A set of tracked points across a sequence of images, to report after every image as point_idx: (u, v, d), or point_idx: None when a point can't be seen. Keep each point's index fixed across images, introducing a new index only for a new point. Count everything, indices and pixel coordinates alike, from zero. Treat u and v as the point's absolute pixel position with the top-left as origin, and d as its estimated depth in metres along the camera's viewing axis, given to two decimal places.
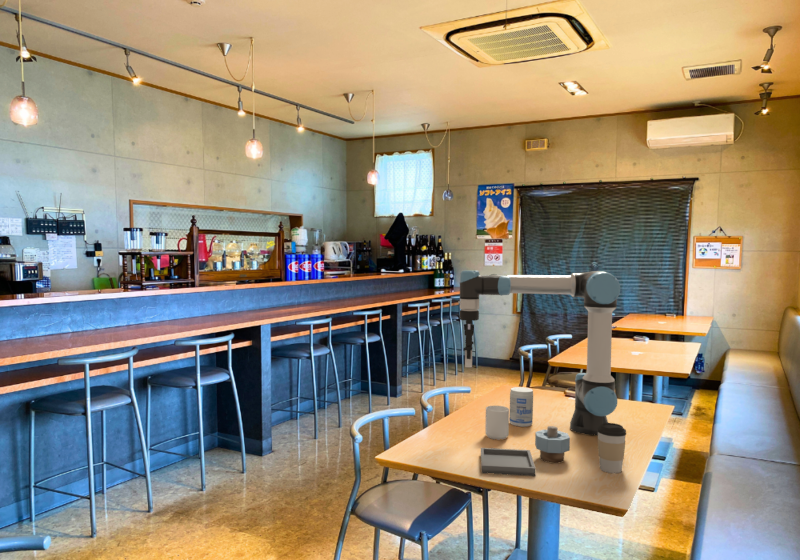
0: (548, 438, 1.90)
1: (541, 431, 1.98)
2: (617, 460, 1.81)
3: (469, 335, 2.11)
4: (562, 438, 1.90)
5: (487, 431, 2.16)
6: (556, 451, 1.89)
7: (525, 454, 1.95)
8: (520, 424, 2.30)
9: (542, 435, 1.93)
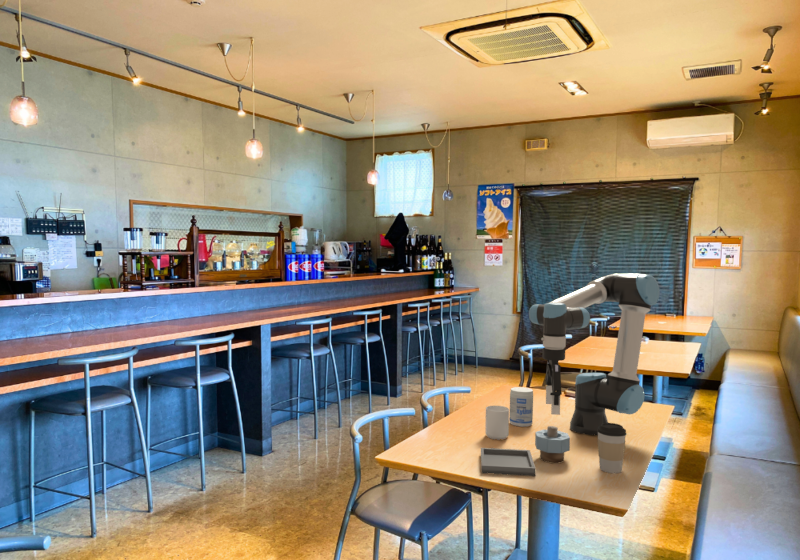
0: (548, 438, 1.90)
1: (541, 431, 1.98)
2: (617, 460, 1.81)
3: (557, 378, 1.85)
4: (562, 438, 1.90)
5: (487, 431, 2.16)
6: (556, 451, 1.89)
7: (525, 454, 1.95)
8: (520, 424, 2.30)
9: (542, 435, 1.93)
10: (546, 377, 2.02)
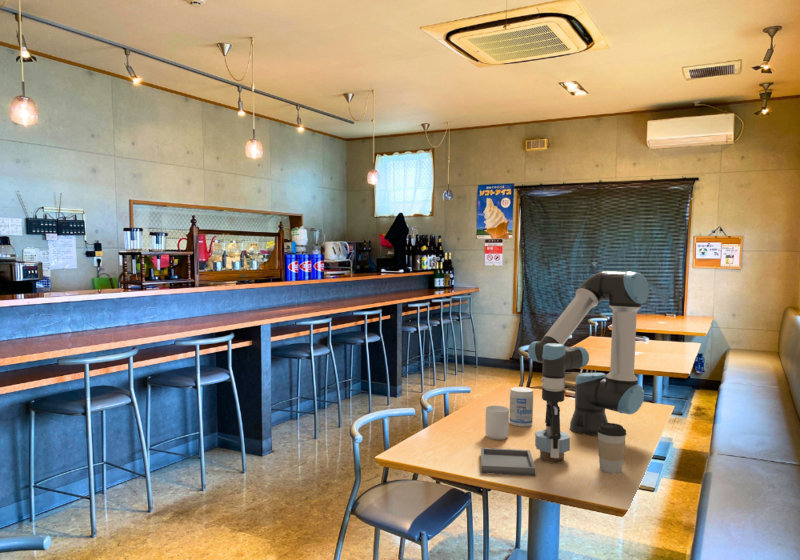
0: (548, 438, 1.90)
1: (541, 431, 1.98)
2: (617, 460, 1.81)
3: (556, 422, 1.86)
4: (562, 438, 1.90)
5: (487, 431, 2.16)
6: None
7: (525, 454, 1.95)
8: (520, 424, 2.30)
9: (542, 435, 1.93)
10: (546, 418, 2.01)
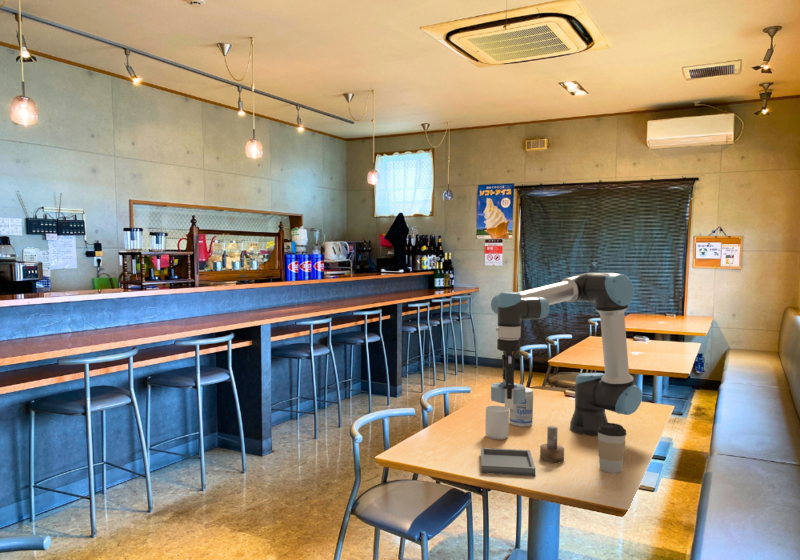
0: (502, 388, 1.83)
1: (497, 383, 1.91)
2: (617, 460, 1.81)
3: (510, 371, 1.80)
4: (517, 388, 1.83)
5: (487, 431, 2.16)
6: None
7: (525, 454, 1.95)
8: (520, 424, 2.30)
9: (497, 386, 1.86)
10: (503, 371, 1.95)
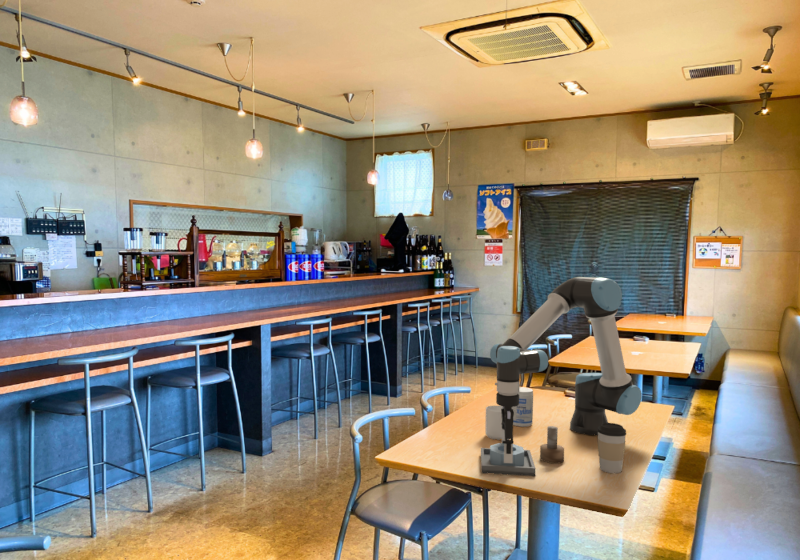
0: (501, 452, 1.84)
1: (496, 445, 1.92)
2: (617, 460, 1.81)
3: (509, 426, 1.80)
4: (516, 452, 1.84)
5: (487, 431, 2.16)
6: None
7: (525, 454, 1.95)
8: (520, 424, 2.30)
9: (496, 449, 1.87)
10: (502, 421, 1.96)
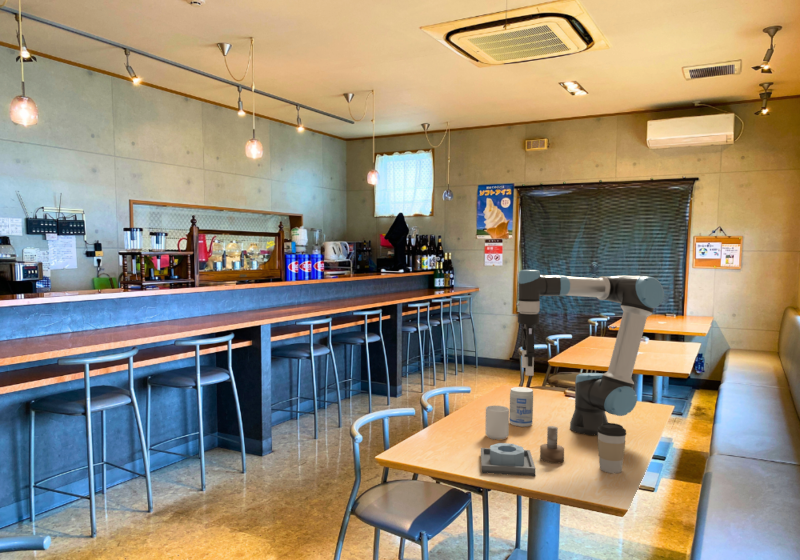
0: (501, 452, 1.84)
1: (496, 445, 1.92)
2: (617, 460, 1.81)
3: (530, 341, 1.94)
4: (516, 452, 1.84)
5: (487, 431, 2.16)
6: None
7: (525, 454, 1.95)
8: (520, 424, 2.30)
9: (496, 449, 1.87)
10: (522, 342, 2.10)
